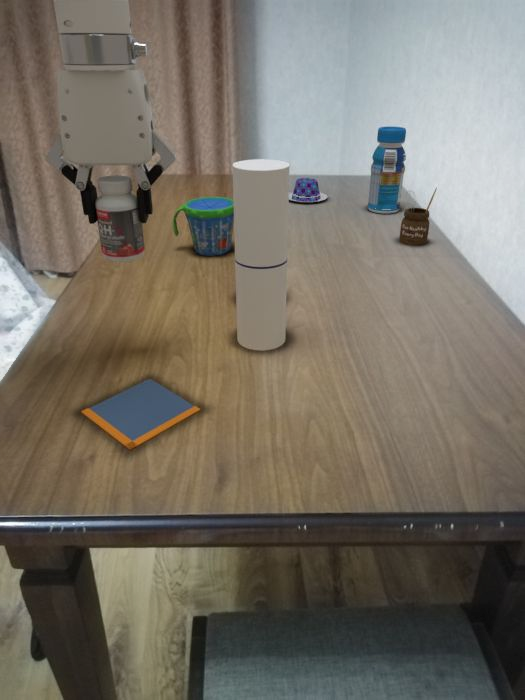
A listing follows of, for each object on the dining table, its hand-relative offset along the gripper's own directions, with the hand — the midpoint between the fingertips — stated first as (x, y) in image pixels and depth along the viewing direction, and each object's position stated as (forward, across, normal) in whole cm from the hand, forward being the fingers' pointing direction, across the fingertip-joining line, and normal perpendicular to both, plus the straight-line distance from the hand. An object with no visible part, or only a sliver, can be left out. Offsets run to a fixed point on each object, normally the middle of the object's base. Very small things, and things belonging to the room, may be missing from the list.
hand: (119, 218), depth 67 cm
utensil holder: (+19, -54, -45) cm, 73 cm away
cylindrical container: (+19, -18, -3) cm, 27 cm away
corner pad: (+19, -3, +14) cm, 24 cm away
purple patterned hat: (+19, -35, -84) cm, 93 cm away
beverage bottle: (+19, -54, -71) cm, 91 cm away
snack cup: (+19, -10, -42) cm, 47 cm away
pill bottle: (+5, 0, 0) cm, 5 cm away
